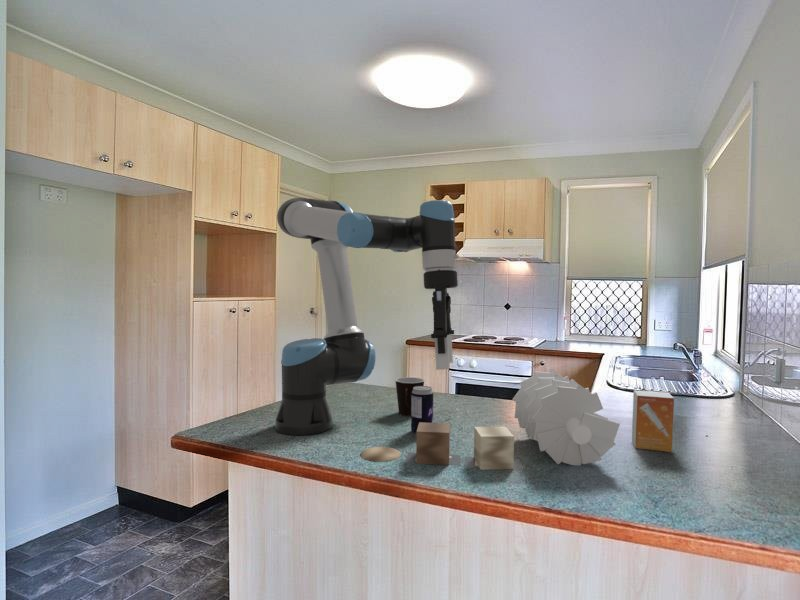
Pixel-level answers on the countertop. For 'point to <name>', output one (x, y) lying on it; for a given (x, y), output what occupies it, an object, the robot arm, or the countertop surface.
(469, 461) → the code tile
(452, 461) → the tile
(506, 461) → the birch block
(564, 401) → the spiral staircase
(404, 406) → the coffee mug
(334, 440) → the countertop surface
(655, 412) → the small box
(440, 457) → the walnut block
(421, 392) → the beverage can
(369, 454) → the cork coaster
